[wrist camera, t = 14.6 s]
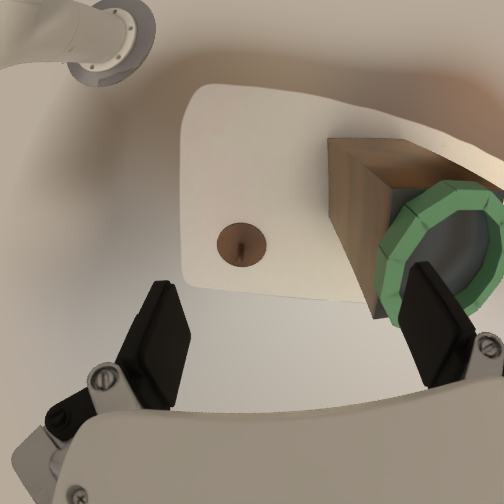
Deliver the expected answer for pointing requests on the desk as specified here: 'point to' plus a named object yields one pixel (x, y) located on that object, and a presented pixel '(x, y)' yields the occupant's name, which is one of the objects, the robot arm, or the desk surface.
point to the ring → (416, 225)
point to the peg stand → (241, 245)
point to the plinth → (391, 202)
